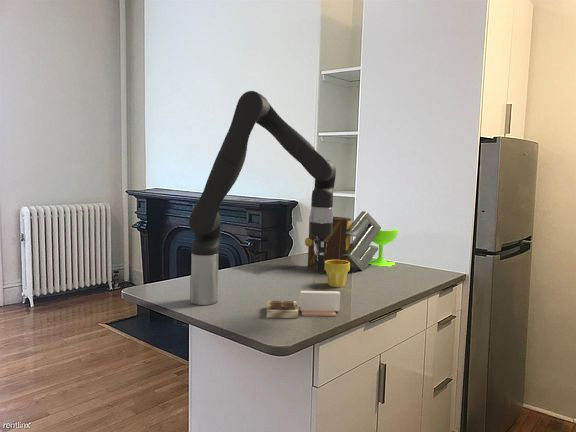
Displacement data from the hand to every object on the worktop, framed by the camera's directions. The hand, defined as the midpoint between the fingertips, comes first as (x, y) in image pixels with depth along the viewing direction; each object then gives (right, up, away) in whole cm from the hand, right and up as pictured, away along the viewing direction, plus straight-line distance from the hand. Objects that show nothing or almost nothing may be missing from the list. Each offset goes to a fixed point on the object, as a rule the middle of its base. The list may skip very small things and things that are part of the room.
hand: (318, 269), depth 162 cm
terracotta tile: (0, -14, +2) cm, 14 cm away
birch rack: (-12, -14, -1) cm, 19 cm away
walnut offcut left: (-14, -14, -4) cm, 20 cm away
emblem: (+23, -8, +67) cm, 72 cm away
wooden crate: (+8, -8, +66) cm, 67 cm away
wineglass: (+36, -7, +84) cm, 92 cm away
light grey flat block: (+7, -11, +1) cm, 13 cm away
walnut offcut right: (-10, -14, -3) cm, 17 cm away
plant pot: (+9, -11, +38) cm, 40 cm away
